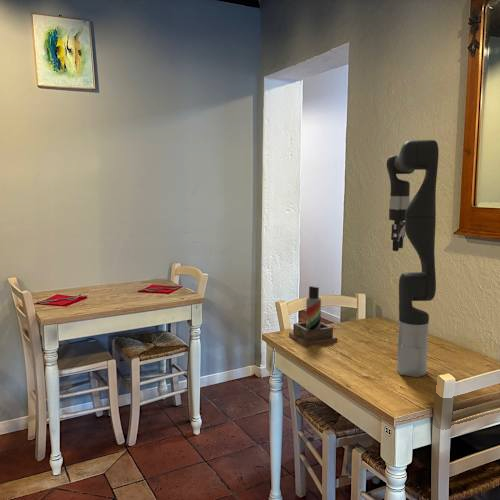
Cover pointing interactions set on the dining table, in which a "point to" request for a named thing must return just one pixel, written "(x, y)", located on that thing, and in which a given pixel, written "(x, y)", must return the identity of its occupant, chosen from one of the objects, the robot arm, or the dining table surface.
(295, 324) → the bottle holder
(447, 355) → the dining table surface
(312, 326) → the lotion bottle
